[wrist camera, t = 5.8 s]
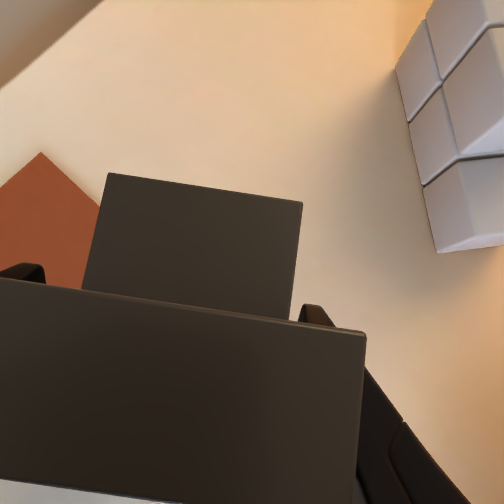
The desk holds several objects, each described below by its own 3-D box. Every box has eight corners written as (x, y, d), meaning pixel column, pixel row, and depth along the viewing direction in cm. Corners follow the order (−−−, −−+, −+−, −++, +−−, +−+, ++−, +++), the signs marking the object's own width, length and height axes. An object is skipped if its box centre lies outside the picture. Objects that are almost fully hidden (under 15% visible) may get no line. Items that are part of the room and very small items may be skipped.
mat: (148, 252, 22) (146, 251, 22) (-26, 426, 20) (-30, 428, 20) (43, 154, 23) (40, 151, 23) (-134, 311, 21) (-140, 310, 21)
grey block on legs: (263, 384, 16) (352, 532, 4) (116, 363, 16) (-246, 446, 4) (282, 242, 18) (395, 24, 5) (146, 221, 18) (-62, -48, 5)
